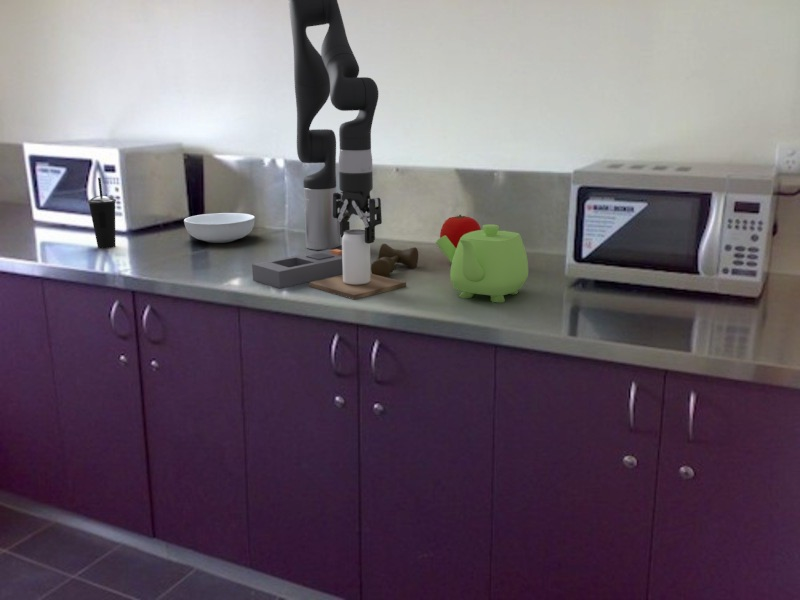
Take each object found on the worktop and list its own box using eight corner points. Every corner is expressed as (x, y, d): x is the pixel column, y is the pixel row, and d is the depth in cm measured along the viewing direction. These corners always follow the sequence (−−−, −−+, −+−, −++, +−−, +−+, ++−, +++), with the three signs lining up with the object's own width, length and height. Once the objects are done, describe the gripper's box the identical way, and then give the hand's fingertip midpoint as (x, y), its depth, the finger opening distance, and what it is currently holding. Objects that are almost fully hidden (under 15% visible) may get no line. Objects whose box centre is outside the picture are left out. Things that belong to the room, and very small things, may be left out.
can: (367, 286, 180) (366, 234, 177) (339, 284, 182) (338, 233, 178) (373, 279, 187) (372, 229, 183) (346, 278, 188) (345, 228, 185)
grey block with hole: (330, 264, 207) (329, 246, 205) (357, 271, 199) (357, 252, 198) (252, 280, 191) (251, 260, 189) (279, 288, 183) (278, 268, 182)
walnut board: (360, 274, 195) (360, 270, 195) (405, 286, 184) (405, 282, 184) (309, 286, 184) (309, 282, 184) (354, 299, 173) (353, 295, 173)
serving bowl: (266, 235, 246) (265, 213, 244) (238, 248, 226) (237, 225, 224) (205, 232, 250) (203, 210, 248) (172, 245, 231) (170, 222, 229)
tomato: (487, 266, 203) (488, 217, 199) (447, 269, 200) (448, 219, 197) (472, 257, 213) (473, 210, 210) (434, 259, 211) (435, 212, 207)
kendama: (361, 279, 193) (389, 259, 211) (398, 284, 190) (423, 263, 208) (361, 256, 191) (389, 238, 209) (398, 260, 188) (424, 241, 206)
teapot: (456, 277, 193) (457, 212, 188) (540, 288, 182) (543, 220, 178) (405, 301, 172) (405, 229, 168) (495, 315, 161) (498, 239, 157)
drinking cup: (126, 245, 230) (119, 177, 225) (104, 250, 224) (96, 180, 219) (109, 243, 234) (101, 175, 229) (87, 247, 228) (79, 178, 223)
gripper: (389, 170, 174) (390, 242, 179) (347, 165, 184) (349, 233, 189) (364, 173, 169) (365, 247, 174) (322, 168, 179) (325, 238, 184)
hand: (357, 240), depth 181 cm, fingers open, 8 cm apart
